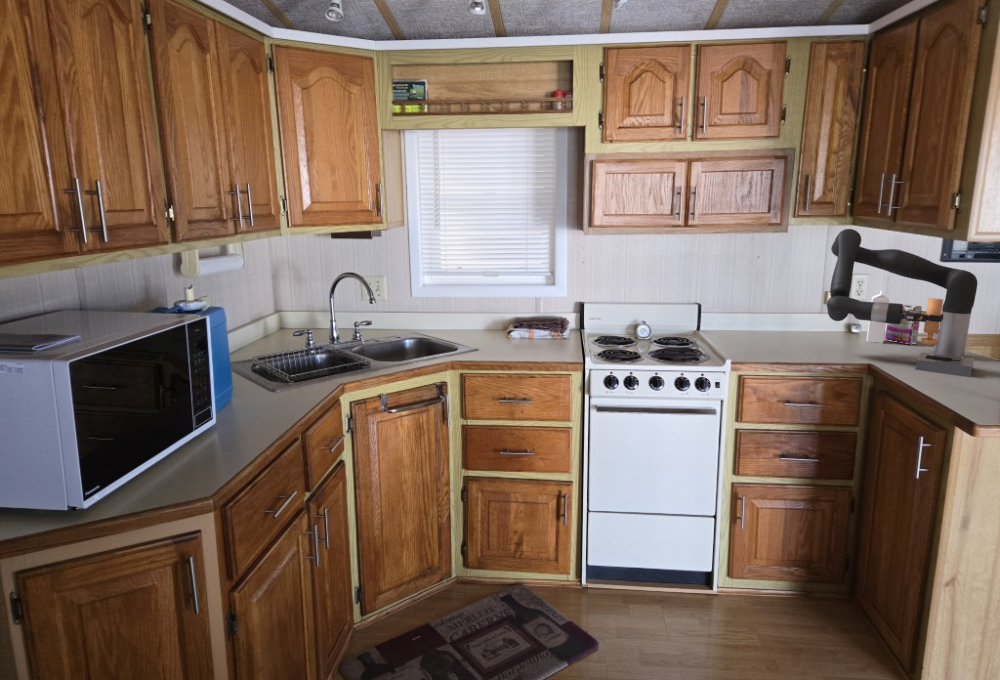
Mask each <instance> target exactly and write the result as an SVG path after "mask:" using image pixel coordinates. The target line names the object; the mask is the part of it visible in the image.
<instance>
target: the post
mask: <svg viewBox="0 0 1000 680" xmlns="http://www.w3.org/2000/svg"><path fill="white" fill-rule="evenodd" d="M943 304H944V299H943V298H931V297H930V298H928V300H927V305H926V310H925V311H926V314H929V316H930V315H939V316H941V314H942V308H943ZM939 328H940V322H933V321H927V322H924V326H923V333H925V334H927V337H923V338H921V340H920V343H921V345H922V344H923V345H929V346H934V345H937V344H938V340H936V339H935V338H934V335H936V334H938V331H939Z"/></svg>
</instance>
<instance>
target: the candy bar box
mask: <svg viewBox="0 0 1000 680" xmlns="http://www.w3.org/2000/svg"><path fill="white" fill-rule="evenodd" d="M896 304H899V303H896ZM902 304H903V310H904V311H908V310H909V309H913V310H920V311H922V308H923V307H922V306H921V305H916V304H915V305H914V304H913V305H912V304H907V303H906V304H905V303H902ZM920 323H921V322H916V321H906V319H902V321H901V323H900V324H889V323H886V329H885V332H886V333H885V337H884V338H885V339H887V340H892V341H897V342H903V343H908V344H912V343H918V336H919V329H920ZM885 339H884V340H885Z"/></svg>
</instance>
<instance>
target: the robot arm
mask: <svg viewBox="0 0 1000 680" xmlns="http://www.w3.org/2000/svg"><path fill="white" fill-rule="evenodd" d="M861 243H862V236H861V234H860V233H859V231H857V230H855V229H852V228H845V229H843V230H841V231H839V233H838V234H837V236H836V237H835V239H834V241H833V243H832V246H831V249H830V250H831V252H832V254H833V255H834V256H835V257H837V258H836V259H837V260H836V263H835V267H834V268H833V269H834V270H833V273H832V276H831V277H832V278H831V281H830V289H829V294H830V297H829V298H828V299H827V302H826V308H827V309H826V310H827V315H828V317H829V319H831V320H832V321H835V322H841V321H844V320H845V319H846V318H847V317H848V316H849V314H850V315H852V316H854V318H855V319H856V320H859V321H867V322H869V321H874V322H879V323H886V324H887V323H889V324H900V323H901V321H902V319H906V321H916V322H920V323H921V322H922V323H925V322H927V321H933V322H940V325H939V331H938V334H935V338H934V339H936V340H938V344H937V345H933V352H932V354H938V355H946V356H954V357H964V358H965V352H966V347H967V340H968V335H969V330H970V329H969V328H970V322H971V315H972V310H973V308H974V305H975V300H976V296H977V289H978V279H977V276H976V275H975V274H974V273H973V272H971V271H968V270H965V269H959V268H953V267H949V266H944V265H941V264H937V263H936V262H932V261H930V260H928V259H926V258H925V257H921V256H920V255H917V254H913V253H911V252H908V251H904V250H901V249H893V248H891V249H890V248H889V249H871V248H866V247H863V246H861ZM855 263H858V264H863V265H866V266H870V267H873V268H876V269H880V270H882V271H886V272H889V273H892V274H894V275H897V276H900V277H904V278H907V279H912V280H916V281H917V280H918V281H923V282H928V283H931V284H932V285H936V286H939V287H941V288H943V289H945V290H946V293H945V298H944V301H943V305H942V311H941V316H939V315H930V316H929V314H926V311H927V310H925V311H924V310H921V311H920V310H913V309H909V310H908V311H904V310H903V304H904V303H898V304H896V303H895V302H889V303H884V302H871V301H863V300H859V299H855V298H852V297H850V294H851V288H852V281H853V272H854V266H855Z"/></svg>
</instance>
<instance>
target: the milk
mask: <svg viewBox="0 0 1000 680" xmlns="http://www.w3.org/2000/svg"><path fill="white" fill-rule="evenodd" d="M879 292H880V293H879V294H876V295H873V296H871V301H870V302H884V303H890V299H889V297H887V296H885V295H883V291H882V290H880V291H879ZM886 326H887V323H879V322H874V321H868V324H867V332H866V338H865V339H866V342H867V343H871V342H880V343H879V344H882V343H883V344H884V341H885V339H884V338H885V334H886V333H885V332H886Z"/></svg>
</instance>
